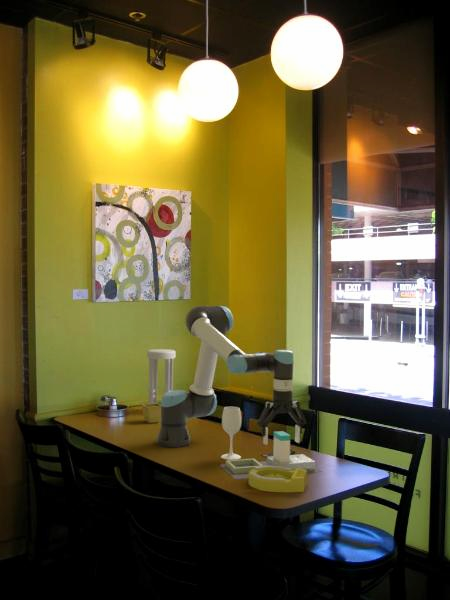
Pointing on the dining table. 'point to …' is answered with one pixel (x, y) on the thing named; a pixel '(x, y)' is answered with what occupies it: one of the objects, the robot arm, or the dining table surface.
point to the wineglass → (231, 427)
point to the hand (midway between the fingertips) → (281, 443)
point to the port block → (295, 462)
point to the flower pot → (152, 412)
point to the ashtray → (278, 479)
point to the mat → (246, 475)
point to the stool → (153, 371)
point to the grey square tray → (233, 463)
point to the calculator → (272, 454)
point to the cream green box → (281, 447)
